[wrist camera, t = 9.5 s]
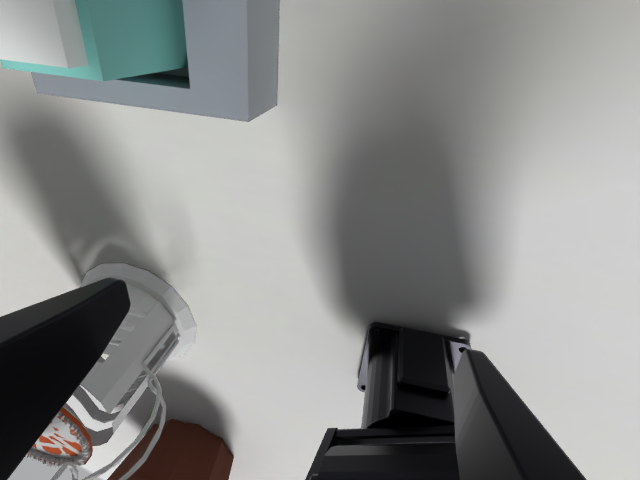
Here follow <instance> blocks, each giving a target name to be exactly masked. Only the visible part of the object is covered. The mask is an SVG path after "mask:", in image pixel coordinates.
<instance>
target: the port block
mask: <svg viewBox="0 0 640 480" xmlns="http://www.w3.org/2000/svg"><path fill="white" fill-rule="evenodd" d="M182 2H183V13H184V24H185V36H186V47H187V58H188V67H186V68H180V69H174V70H168V71H162V72H156V73H150V74H144V75H138V76H132V77H126V78H120V79H114V80H109V81H96V80H89V79H81V78H74V77H66V76H59V75H51V74H43V73H36V72H31V73H32V77H33V80H34V84H35V87H36V91H37V93H39V94H47V95H54V96H62V97H69V98H76V99H84V100H91V101H98V102H106V103H113V104H121V105H128V106H135V107H143V108H150V109H158V110H165V111H172V112H180V113H187V114H194V115H202V116H209V117H217V118H224V119H231V120H239V121H246V122H249V121H251V120H253V119H254V118H256V117H258V116H259V115H261V114H263V113H265V112H266V111H268V110H270V109H271V108H273V107H275V106H277V82H278V39H279V0H182Z"/></svg>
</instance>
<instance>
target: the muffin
mask: <svg viewBox="0 0 640 480" xmlns="http://www.w3.org/2000/svg"><path fill="white" fill-rule="evenodd" d="M158 428H159V424H155V425H153V427H152V428H151V429H150V430H149V431H148V432H147V434H146V435H145V436H144V437H143V438H142V440H141V441H140V442H139V443H138V444H137V445H136V447H135V448H134V449H133V450H132V451H131V452H130V454H129V455H128V456H127V457H126V458H125V459H124V461H123V462H122V463H121V464H120V465H119V466H118V468H117V469H116V470H115V471H114V472H113V473H112V475H111V476H110V477H109V478H108V479H107V480H119V479H120V478H121V477H123V476H124V475H125V474H126V473H127V472H129V471H130V469H131V468H132V467H133V466H134V465H135V464H136V463H137V462H138V461H139V460H140V459H141V458H142V457H143V455H144V454H145V452H146V450H147V448H148V446H149V444H150V443H151V441H152V439H153V437H154V435H155V434H156V432H157V430H158ZM233 458H234V457H233V455H232V454H231V453H230V451H229V450H228V449H227V447H226V445H225V443H224V441H223V439H221V438H219V437H217V436H216V435H214V434H212V433H210V432H209V431H207V430H206V429H204V428H203V427H202V426H200V425H199V424H192V423H186V422H182V421H178V420H174V419H170V420H168V421H166V422H165V423H164V426H163V429H162V432H161V435H160V438H159V439H158V441H157V443H156V444H155V446H154V448H153V449H152V451H151V453H150V454H149V456H148V458H147V459H146V461H145V462H144V463H143V464H142V465H141V466H140V467H139V468H138V469H137V470H136V471H135V472H134V473H133V474H132V475H131V476H130V477H129V478H128V479H127V480H228V479H229V475H230V470H231V466H232V462H233Z"/></svg>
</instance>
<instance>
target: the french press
mask: <svg viewBox="0 0 640 480" xmlns="http://www.w3.org/2000/svg"><path fill="white" fill-rule="evenodd" d="M108 277H113V278H118V279H122V280H124V281H125V282H126V285H127V289H128V293H129V297H130V302H131V306H130V310H129V312H128V314H127V315H126V317H125V319H124V320H123V322H122V323H121V325H120V327H119V328H118V330H117V331H116V333H115V335H114V336H113V338H112V339H111V341H110V343H109V344H108V346H107V348H106V349H105V351H104V352H103V353H104V354H108V355H109V357H108V358H107V359H106V360H104V359H103V358H102V357H100V358H99V360H98V361H97V363H96V364H95V365H94V367H93V368H92V369H91V371H90V372H89V373H88V375H87V376H86V377H85V379H84V380H83V381H82V382H81V384H80V385H82V386H83V387H84V388H85V389H86V390H88V391H89V392H90V393H91V394H92V395H93V396H94V397H95V398H96V399H97V400H98V401H100V402H101V404H102V405H103V407H104V408H105V409H106V411H107V412H108V413H106V412H104V411H101V410H99V409H98V407H97V406H96V405H95V404H94V402H93V401H92V400H91V398H90V397H89V396H88V394H87V393H86V392H85V391H84V390H83V389H82V388H81V387H80V386H78V388H77V389H76V390H75V392H74V393H73V395H74V396H75V397H76V399H77V400H78V401H79V402H80V403H81V404H82V405H83V407H84V408H85V409H86V411H87V412H88V413H89V415H90V416H91V417H92V418H93V419H95V420H97V421H100V422H102V423H107V422H110V421H113V420H114V421H113V423H112V425H113V427H111V428H108V429H105V430H102V431H98V432H96V431H94V430H91V429H89V428H87V427H85V426H84V424H83V423H82V422H81V420H80V419H79V418H78V416H77V415H76V413H75V412H74V411H73V410H72V409H71V408H70V407H69V406H68V405H67V404H66V403H65V405H64V406H63V407H62V409H61V410H60V411H59V413H58V414H57V415H56V417H55V418H54V419H53V420H52V422H51V423H50V424H49V426H48V427H47V428H46V430H45V431H44V432H43V434H42V435H41V436H40V437H39V439H38V440H37V441H36V443H35V444H34V445H33V447H32V448H31V449H30V451H29V452H28V453H27V454H26V455H28V457H27V458H32V457H33V461H36V460H37V459H38V462H41V461H42V462H43V464H46V463H47V466H54V467H56V466H58V467H61V468H60V469H59V470H58V471H57V472H56V474H55V475H54V476H53V478H52V479H51V480H57V479H58V477H60V475H61V474H62V473H63V471H64V470H65V469H66V468H69V469H70V470H71V472H72V478H73V480H78V470H77V469H76V466H81V465H84V464H86V463H87V461H88V460H89V459H90V457H91V456H92V451H93V449H92V446H99V445H102V444H104V443H107V442H108V440H109V439H110V438H111V436H112V435H113V434H114V432H115V431H116V429H117V428H118V427H119V425H120V424H121V423H122V421H123V420H124V418H125V417H126V416H127V414H128V413H129V411H130V410H131V409H132V407H133V406H134V405H135V403H136V402H137V400H138V399H139V398H140V396H141V395H142V393H143V392H144V391H145V389H146V388H147V386H148V387H149V388H150V389H151V390H152V391H153V392H154V393H155V394H156V401H155V405H154V408H153V411H152V414H151V417H150V419H149V420H148V422H147V423H146V425H145V426H144V428H143V429H142V431H141V432H140V434H139V435H138V436H137V438H136V439H135V441H134V442H133V443H132V444H131V445H130V446H129V447H128V448H127V449H125V450H124V451H123V452H122V453H121V454H120V455H119V456H118V457H117V458H116V459H115V460H114V461H113V462H112V463H110V464H109V465H107V466H105V467H103V468H102V469H100V470H98V471H96V472H95V473H93V474H91V475H89V476H88V477H86V478H84V479H82V480H93V479H94V478H96V477H98V476H100V475H101V474H103V473H105V472H106V471H108V470H109V469H111V468H112V467H114V466H115V465H117V464H118V463H119V462H120V461H121V460H122V459H123V458H124V457H125V456H126V455H127V454H128V453H129V452H130V451H131V450H132V449H133V448H134V447H135V446H136V445H137V444H138V443H139V442H140V441H141V439H142V438H143V436H144V435H145V433H146V432H147V430H148V428H149V427H150V425H151V424H152V422H153V421H154V419H155V417H156V414H157V411H158V408H159V404H160V403H161V406H162V413H161V418H160V423H159V428H158V430H157V432H156V434H155V435H154V437H153V439H152V441H151V443H150V444H149V446H148V448H147V450H146V452H145V454H144V455H143V457H142V458H141V459H140V460H139V461H138V462H137V463H136V464H135V465H134V466H133V467H132V468H131V469H130V471H129V472H127V473H126V474H125V475H124V476H123V477H121V478H120V479H119V480H127V479H128V478H129V477H130V476H131V475H132V474H133V473H134V472H135V471H136V470H137V469H138V468H139V467H140V466H141V465H142V464H143V463H144V462H145V461H146V459H147V458H148V456H149V454H150V453H151V451H152V449H153V448H154V446H155V444H156V443H157V441H158V439H159V438H160V435H161V432H162V429H163V426H164V423H165V418H166V404H165V401H164V399H163V396H162V394H161V393H162V388H161V386H160V383H159V380H158V378H157V377H156V376H155V375H156V374H157V373H158V371H159V370H160V368H161V367H162V366H163V364H164V363H165V362H166V361H167V360H172V359H175V358H177V357H180V356H183V355H186V353H187V352H188V351H189V350H190V348H191V347H192V346H193V345H194V343H195V337H196V324H195V321H194V319H193V316H192V314H191V311H190V309H189V306H188V305H187V304H186V303H185V301H184V300H183V299H182V298H181V297H180V296H179V294H178V293H177V292H176V291H175V290H174V289H173V287H172V286H170V285H169V284H167V283H166V282H164V281H163V280H161V279H160V278H158V277H157V276H155V275H154V274H152V273H151V272H149V271H147V270H144V269H141V268H138V267H134V266H131V265H128V264H125V263H105V264H100V265H98V266H97V267H95V268H93V269H91V270H90V271H88V272H86V274H85V276H84V279H83V281H82V283H81V286H80V287H83V286H86V285H88V284H91V283H94V282H97V281H99V280H102V279H105V278H108ZM146 375H147V377H146V378H145V379H144V381H141V382H138V383H135V384H133V383H134V381H135V380H136V379H137V378H140V377H143V376H146ZM152 380H154V383H155V386H156V388H155V387H154V386H153V385H152V382H151V381H152ZM135 389H137V390H136V392H135V393H134V394H133V395H131V396H128V397H125V398H122V397H123V396H124V394H125V393H126V392H129V391H132V390H135ZM124 404H126V405H125V406H124V408H123V409H122V410H121V411H119V412H116V413H113V414H110V413H111V411H112V410H113V409H114V407H115V406H116V407H118V406H121V405H124ZM30 456H31V457H30ZM40 460H41V461H40Z"/></svg>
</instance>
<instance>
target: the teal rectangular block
mask: <svg viewBox="0 0 640 480" xmlns="http://www.w3.org/2000/svg"><path fill="white" fill-rule="evenodd" d="M0 61H1V64H2V67H3V68H6V69H13V70H21V71H28V72H36V73H43V74H51V75H59V76H66V77H74V78H81V79H89V80H96V81H109V80H114V79H120V78H126V77H132V76H138V75H144V74H150V73H156V72H162V71H168V70H174V69H180V68H186V67H188V58H187V47H186V36H185V24H184V13H183V2H182V0H0Z"/></svg>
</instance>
